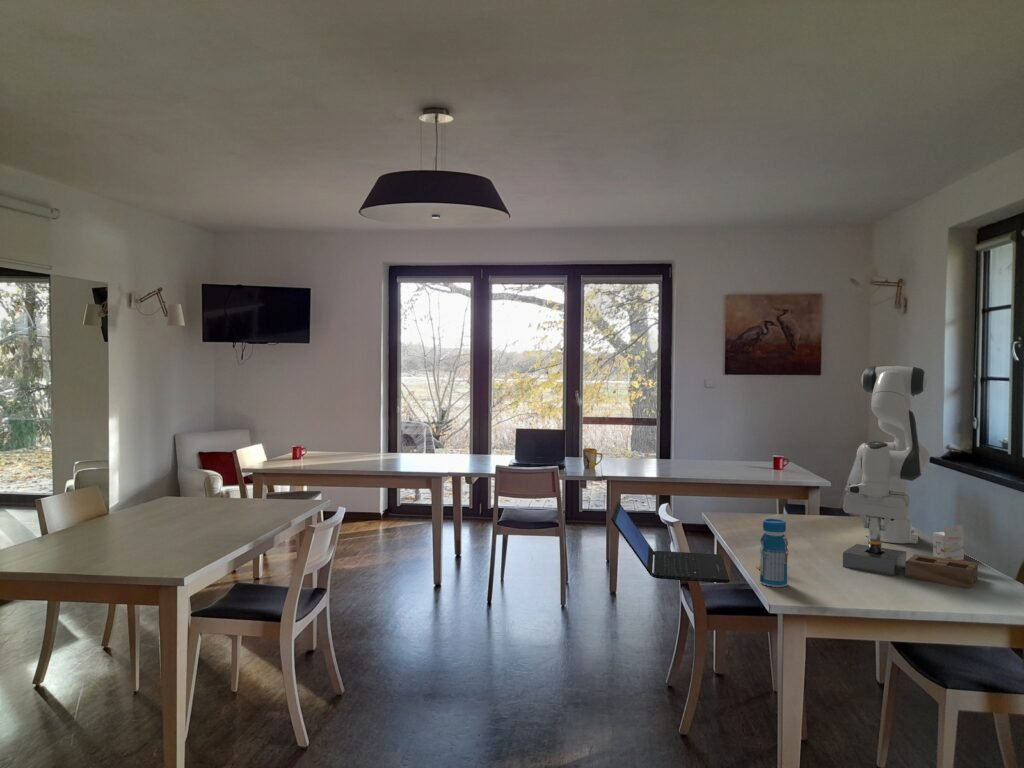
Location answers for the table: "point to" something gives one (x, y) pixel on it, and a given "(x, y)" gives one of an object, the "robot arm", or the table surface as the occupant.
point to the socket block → (874, 560)
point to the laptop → (669, 556)
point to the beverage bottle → (774, 553)
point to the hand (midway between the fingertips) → (874, 529)
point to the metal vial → (874, 534)
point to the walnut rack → (941, 570)
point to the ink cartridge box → (949, 543)
